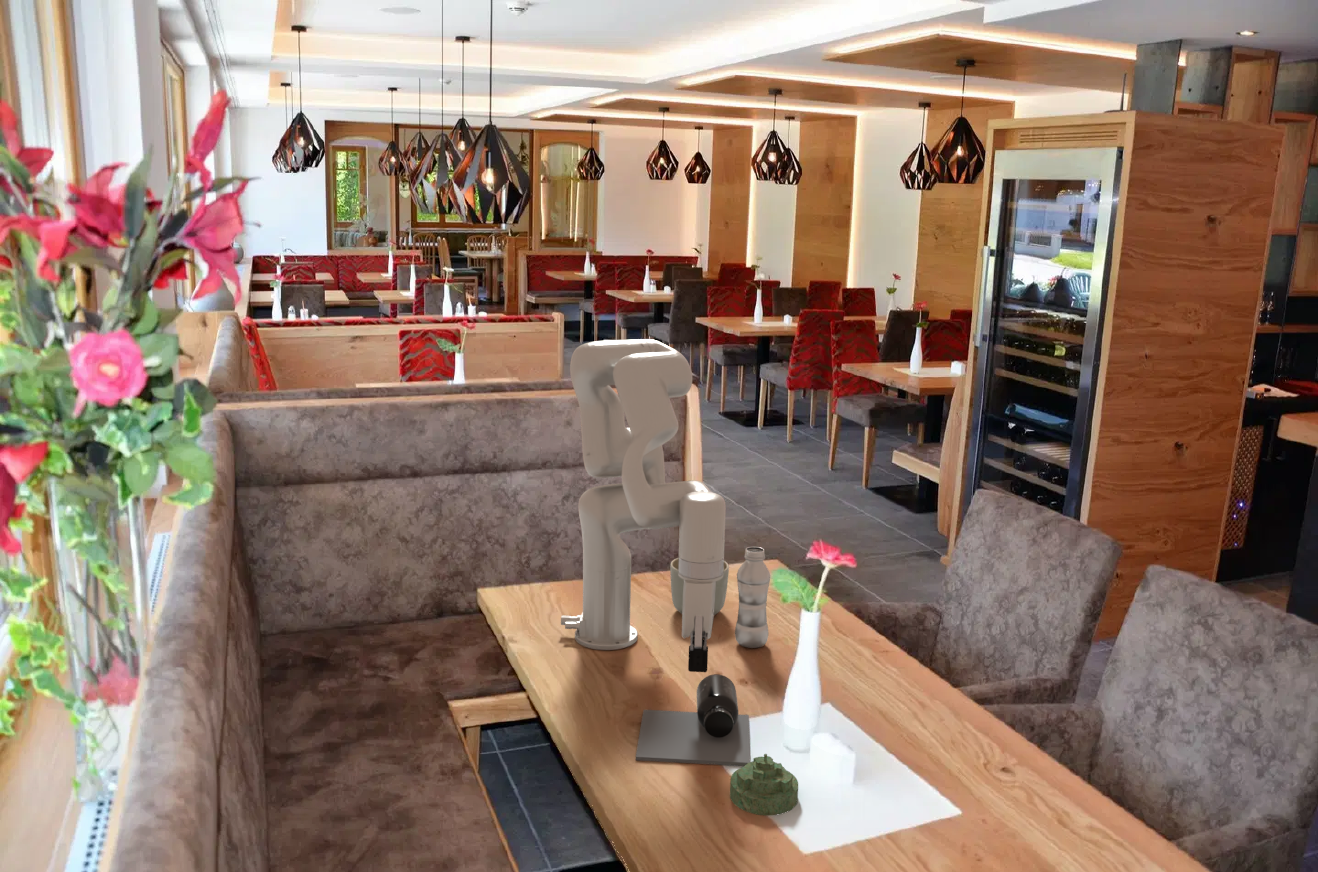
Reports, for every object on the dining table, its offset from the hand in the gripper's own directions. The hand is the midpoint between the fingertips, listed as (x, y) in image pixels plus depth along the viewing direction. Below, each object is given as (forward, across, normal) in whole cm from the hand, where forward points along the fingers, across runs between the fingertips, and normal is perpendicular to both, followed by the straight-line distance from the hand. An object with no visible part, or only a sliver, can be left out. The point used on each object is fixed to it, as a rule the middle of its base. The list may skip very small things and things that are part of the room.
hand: (697, 669), depth 180 cm
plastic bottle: (+9, -32, +10) cm, 34 cm away
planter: (+9, -48, -1) cm, 49 cm away
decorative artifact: (+9, +24, +11) cm, 28 cm away
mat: (+9, +7, 0) cm, 11 cm away
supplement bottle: (+5, -2, +3) cm, 6 cm away
